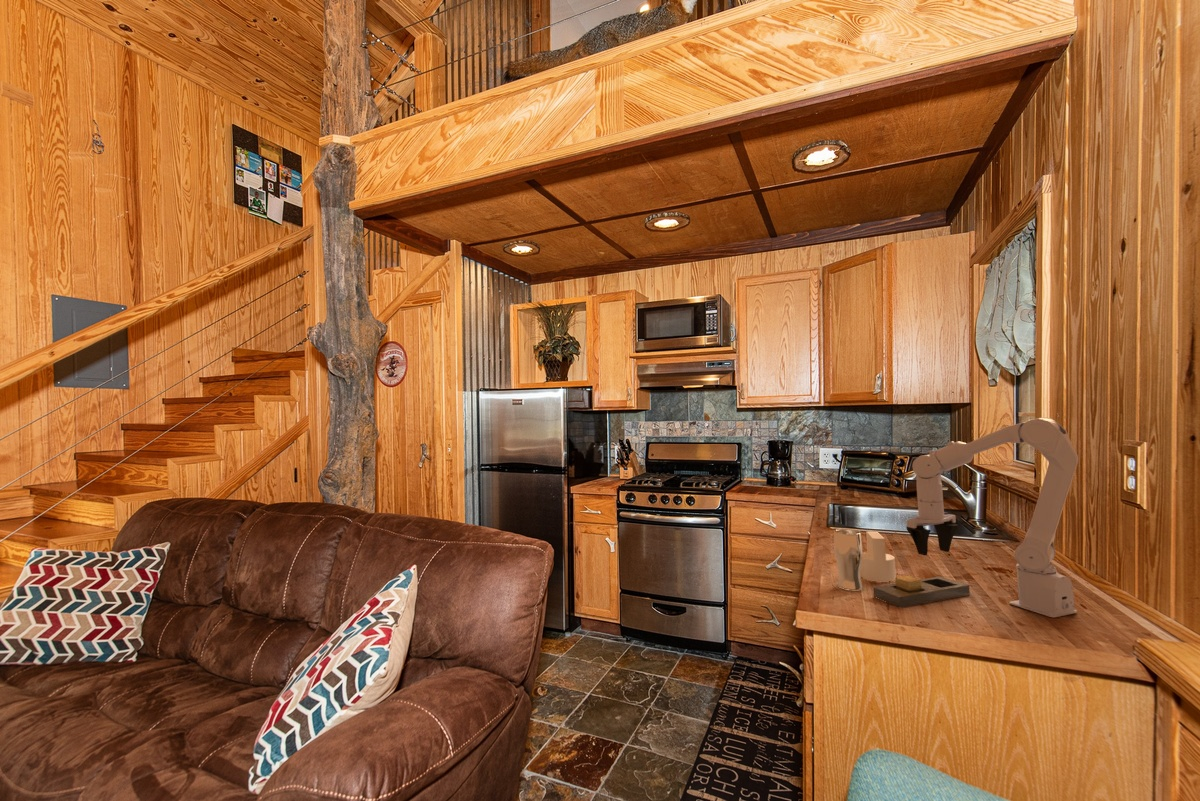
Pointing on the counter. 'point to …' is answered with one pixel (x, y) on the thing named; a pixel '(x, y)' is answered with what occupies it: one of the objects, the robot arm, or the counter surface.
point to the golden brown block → (908, 584)
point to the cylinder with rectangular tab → (877, 560)
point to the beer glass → (848, 558)
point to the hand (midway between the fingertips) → (933, 552)
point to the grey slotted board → (923, 592)
